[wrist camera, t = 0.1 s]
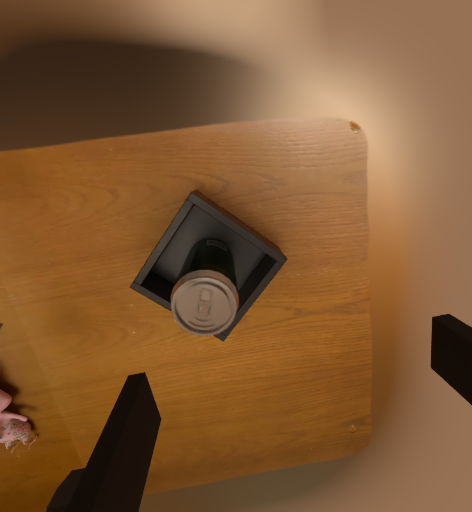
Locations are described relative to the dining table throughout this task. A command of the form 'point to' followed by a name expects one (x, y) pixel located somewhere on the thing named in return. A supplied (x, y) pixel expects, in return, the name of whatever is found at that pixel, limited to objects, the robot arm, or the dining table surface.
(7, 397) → the rabbit figure
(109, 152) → the dining table surface
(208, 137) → the dining table surface
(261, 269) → the bin
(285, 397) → the dining table surface
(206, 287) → the beer can
